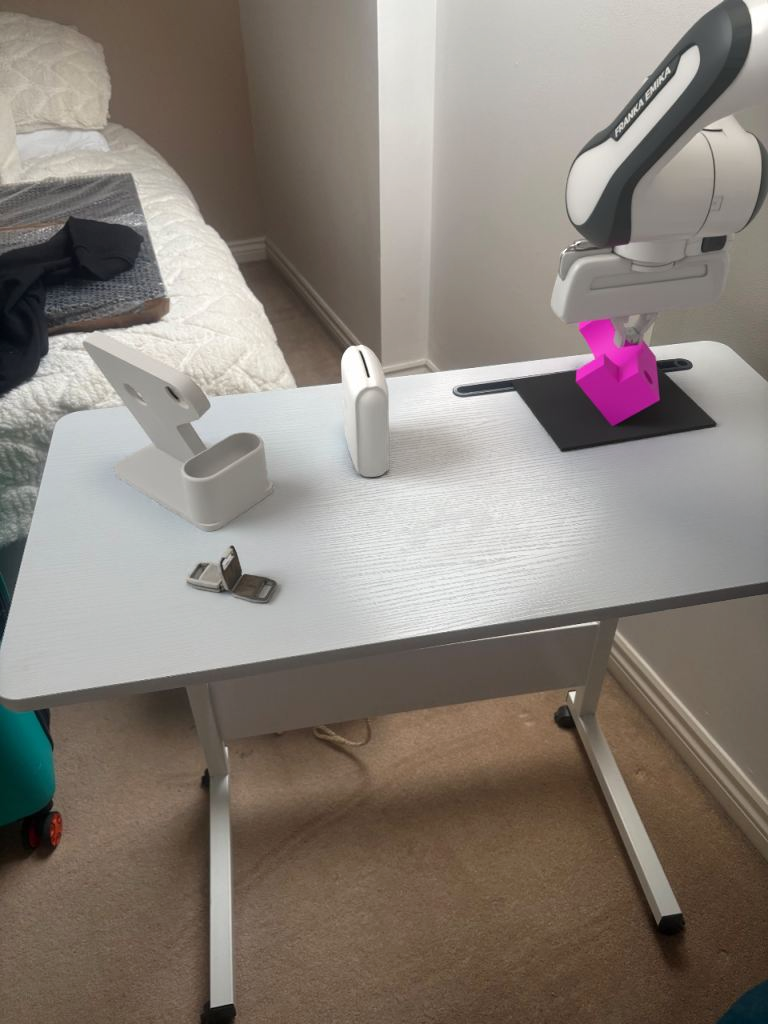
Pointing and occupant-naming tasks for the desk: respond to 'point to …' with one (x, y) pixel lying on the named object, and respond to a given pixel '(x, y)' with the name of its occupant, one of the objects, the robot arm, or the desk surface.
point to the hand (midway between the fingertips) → (627, 344)
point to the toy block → (617, 373)
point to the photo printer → (365, 410)
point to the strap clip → (229, 578)
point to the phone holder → (180, 441)
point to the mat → (584, 424)
